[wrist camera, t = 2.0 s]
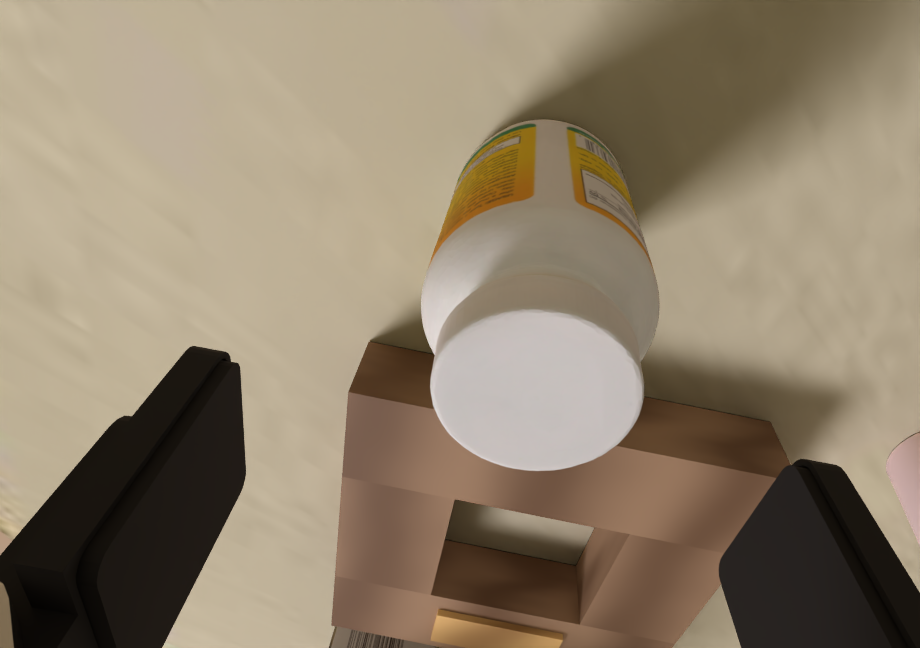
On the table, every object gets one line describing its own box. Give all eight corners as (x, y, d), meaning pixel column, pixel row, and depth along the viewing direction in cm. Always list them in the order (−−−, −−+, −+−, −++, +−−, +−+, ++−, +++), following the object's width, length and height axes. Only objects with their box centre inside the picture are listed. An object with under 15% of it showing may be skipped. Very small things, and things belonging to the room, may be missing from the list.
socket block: (770, 422, 23) (802, 489, 20) (633, 628, 32) (642, 693, 29) (368, 341, 23) (346, 397, 20) (347, 571, 32) (329, 631, 29)
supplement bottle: (643, 125, 17) (734, 295, 9) (603, 282, 20) (647, 512, 12) (461, 106, 17) (396, 255, 9) (449, 263, 20) (393, 476, 12)
